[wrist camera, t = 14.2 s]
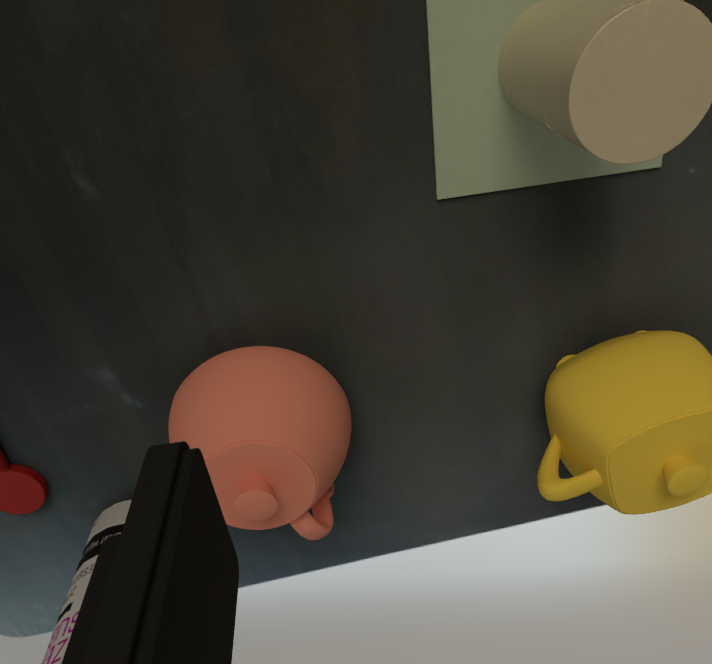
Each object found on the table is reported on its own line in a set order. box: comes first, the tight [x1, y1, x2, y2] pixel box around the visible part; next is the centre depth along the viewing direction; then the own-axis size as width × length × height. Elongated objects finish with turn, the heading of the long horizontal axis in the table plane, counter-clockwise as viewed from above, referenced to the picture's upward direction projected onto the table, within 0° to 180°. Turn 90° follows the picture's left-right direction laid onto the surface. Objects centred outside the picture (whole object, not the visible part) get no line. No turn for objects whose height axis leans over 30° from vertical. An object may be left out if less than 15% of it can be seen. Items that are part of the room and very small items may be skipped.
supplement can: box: [42, 499, 132, 664], centre depth 42 cm, size 8×8×15 cm
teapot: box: [537, 330, 712, 514], centre depth 41 cm, size 18×11×11 cm, turn 110°
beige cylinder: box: [498, 0, 712, 165], centre depth 29 cm, size 6×6×10 cm
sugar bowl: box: [169, 346, 351, 540], centre depth 40 cm, size 12×14×10 cm
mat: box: [426, 0, 684, 200], centre depth 33 cm, size 14×14×1 cm
